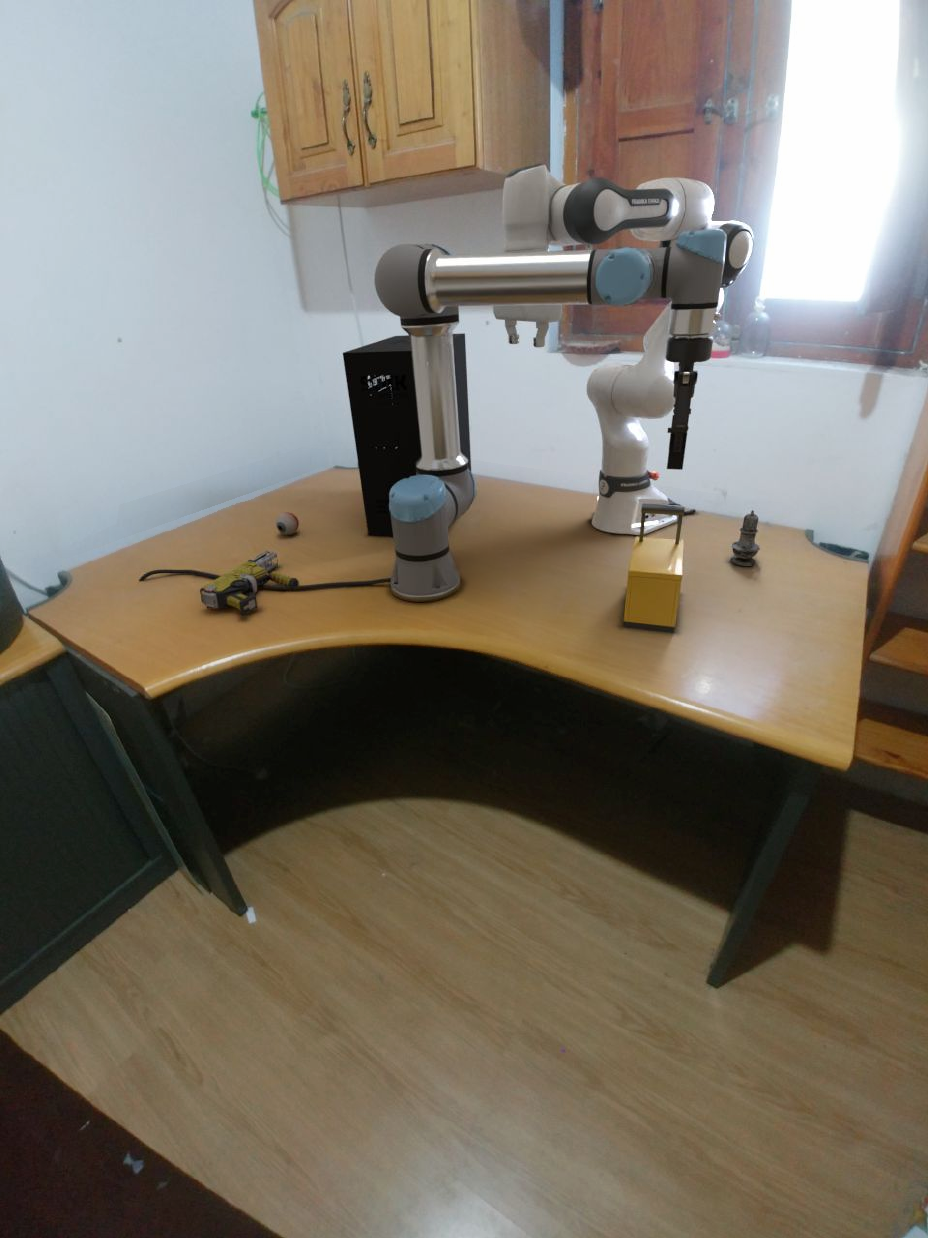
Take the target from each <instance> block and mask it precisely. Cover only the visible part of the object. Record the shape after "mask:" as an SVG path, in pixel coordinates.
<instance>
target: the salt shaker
mask: <svg viewBox="0 0 928 1238" xmlns="http://www.w3.org/2000/svg"><path fill="white" fill-rule="evenodd" d="M758 523H759V516H758V515H757V514H755V511H754V509H752V510H751V511H750V513H747V514H746V515H744V517H743V522H742V527H740V528H739V531H740V535H739V539H738V541H734V542H732V543H731V548H732V549H731V550H732V553H733V555H734V556H731V557H730V559H729V561H730V563H732V564H735V565H738V566H741V567H750V566H753V565H755V564H756V563H757V562H756V559H754V557H756V555H757V554H758V552H759V551H760V550H761V546H760V545H759V544H757V543H756V536H757V533H758V532H759V530H758V529H757V528H758Z"/></svg>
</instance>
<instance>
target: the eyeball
mask: <svg viewBox="0 0 928 1238" xmlns="http://www.w3.org/2000/svg"><path fill="white" fill-rule="evenodd" d="M299 525H300V522H299V519H298V517H297V516H296V515H295V514H294V513H292V512H287V511H286V512H282V513H280V514H279V515H278V516H277V517H276V520H275V527H276V529H277V530H278V531H279V532H280V533H281V534H282V535H285V536H286V535H287V536H289V535H293V534H295V533H296V532H297V531H298V529H299Z"/></svg>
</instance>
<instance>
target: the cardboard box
mask: <svg viewBox="0 0 928 1238" xmlns="http://www.w3.org/2000/svg"><path fill="white" fill-rule="evenodd" d="M452 336H453V350H454V365H455V380H456V395H457V409H458V424H459V439H460V452H461V453H462V454H463V455H464V456H465V457H466V458H467V459H468V469H469V471H470V472H472V458H471V457H472V456H471V455H472V454H471V435H470V434H471V433H470V432H471V431H470V413H469V392H468V391H469V390H468V389H469V388H468V370H467V350H466V348H467V347H466V333H452ZM342 358H343V365H344V373H345V380H346V387H347V394H348V399H349V400H348V401H349V409H350V414H351V423H352V431H353V436H354V444H355V451H356V457H357V459H356V460H357V465H358V472H359V479H360V486H361V494H362V500H363V501H362V502H363V508H364V515H365V523H366V529H367V535H368V536H381V537H382V536H384V537H393V529H392V521H391V513H390V510H389V502H390V500H389V493H390V490H391V488H392V487H393V486H394V484H396V483H397V482H398V481H400V480H402V479H404V478H409V477H411V476H415V475H416V465H415V464H416V462H417V460H418V459H419V458H420V457H421V445H420V435H419V425H418V415H417V405H416V395H415V385H414V375H413V365H412V355H411V345H410V336H409V335H408V334H407V335H394V336H391V337H390V336H389V337H387V338H384V339H381V340H378V341H375V342H372V343H369V344H366V345H362V346H360V347H357V348H353V349H350V350H347V351H343V352H342Z"/></svg>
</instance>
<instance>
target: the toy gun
mask: <svg viewBox="0 0 928 1238" xmlns="http://www.w3.org/2000/svg"><path fill="white" fill-rule="evenodd" d="M274 559H276V562H275V563H274V562H273V560H274ZM278 566H279V560H278V553H277V552H275V551H270V550H265V551H264V552H262V553H260V554H258V555H257V556H255V557H254V558H252V559H248V560H247V561H245V562H243V563H242V564H239V565H238V566H236V567H235V568H232V569H231V570H229V571H228V572H226V573H224V574H223V575H220V576H221V577H219V578H217V579H215V578H214V580H211V581H210V582H208V583H207V584H204V585H203V586H201V587H200V588H199V593H200V599H201V603H202V604H203V606H205V607H206V609H210V610H215V609H217V610H218V609H219V610H221V609H227V608H230V607H233V608H236V609H237V610H239V611H240V616H246V615H247V614H250V613H251V612H253V611H255V610H257V609H258V601H257V600H258V599H257V595H256V593H257V592H258V588H257V587H258V586H259V585H266V584H267V583H268V582H273V583H276V584H279V585H280V586H288V587H290V588H294V586H300V583H299V582H300V581H299V579H298V578H296V577H290V576H289V575H286V574H283V573H281V572H278V571H272V570H273V569H274V568H276V567H278ZM269 571H271V573H270V574H269V573H268V572H269Z"/></svg>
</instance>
